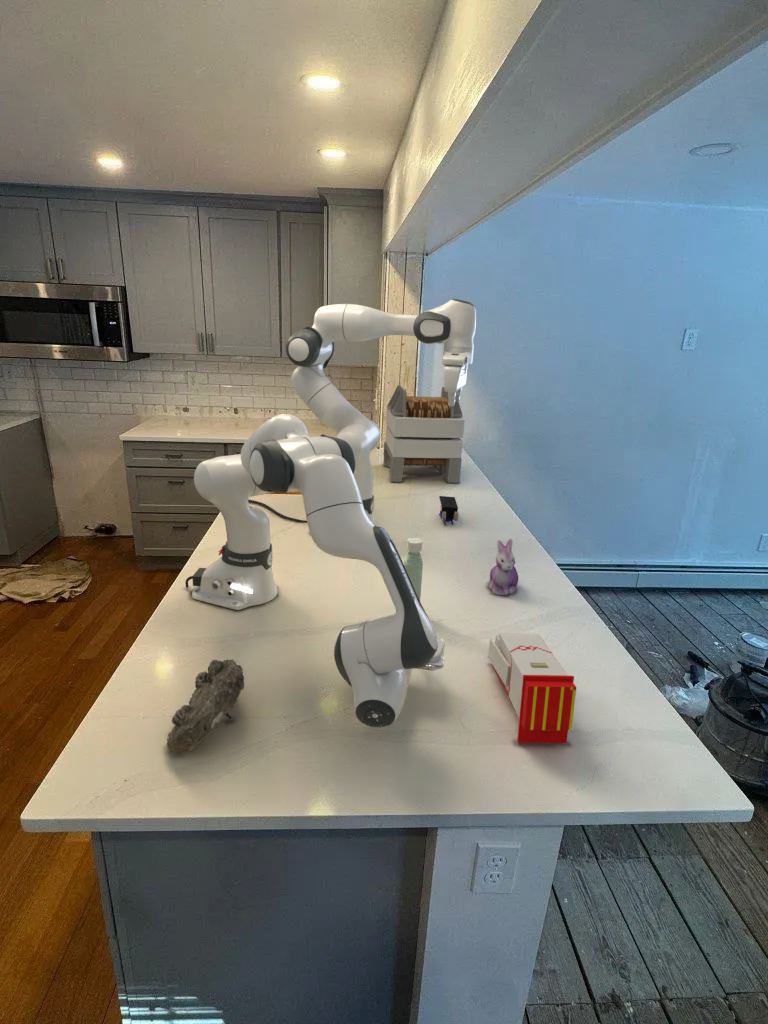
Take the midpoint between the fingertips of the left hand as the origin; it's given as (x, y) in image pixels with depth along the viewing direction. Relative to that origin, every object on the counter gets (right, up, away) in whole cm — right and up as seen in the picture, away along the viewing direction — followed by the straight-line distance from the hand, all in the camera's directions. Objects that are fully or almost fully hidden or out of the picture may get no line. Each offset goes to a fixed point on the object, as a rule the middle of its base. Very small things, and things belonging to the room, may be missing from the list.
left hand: (401, 628), depth 125 cm
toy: (+25, -13, -8) cm, 29 cm away
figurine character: (+20, +23, +90) cm, 95 cm away
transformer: (+13, +45, +150) cm, 157 cm away
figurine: (+31, +4, +38) cm, 49 cm away
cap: (+4, +18, +15) cm, 24 cm away
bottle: (+3, -1, +22) cm, 23 cm away
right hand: (+18, +59, +49) cm, 79 cm away
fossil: (-37, -13, -17) cm, 43 cm away
